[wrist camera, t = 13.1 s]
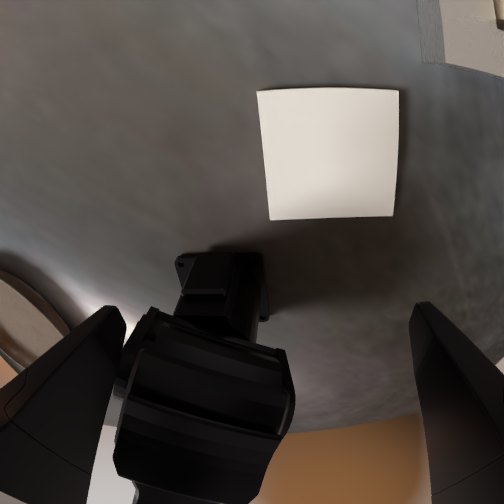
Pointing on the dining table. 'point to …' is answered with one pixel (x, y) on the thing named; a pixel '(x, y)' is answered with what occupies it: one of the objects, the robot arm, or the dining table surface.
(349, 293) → the dining table surface
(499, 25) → the birch peg
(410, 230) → the dining table surface
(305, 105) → the white square tile
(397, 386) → the dining table surface
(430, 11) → the plate
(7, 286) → the plant saucer
